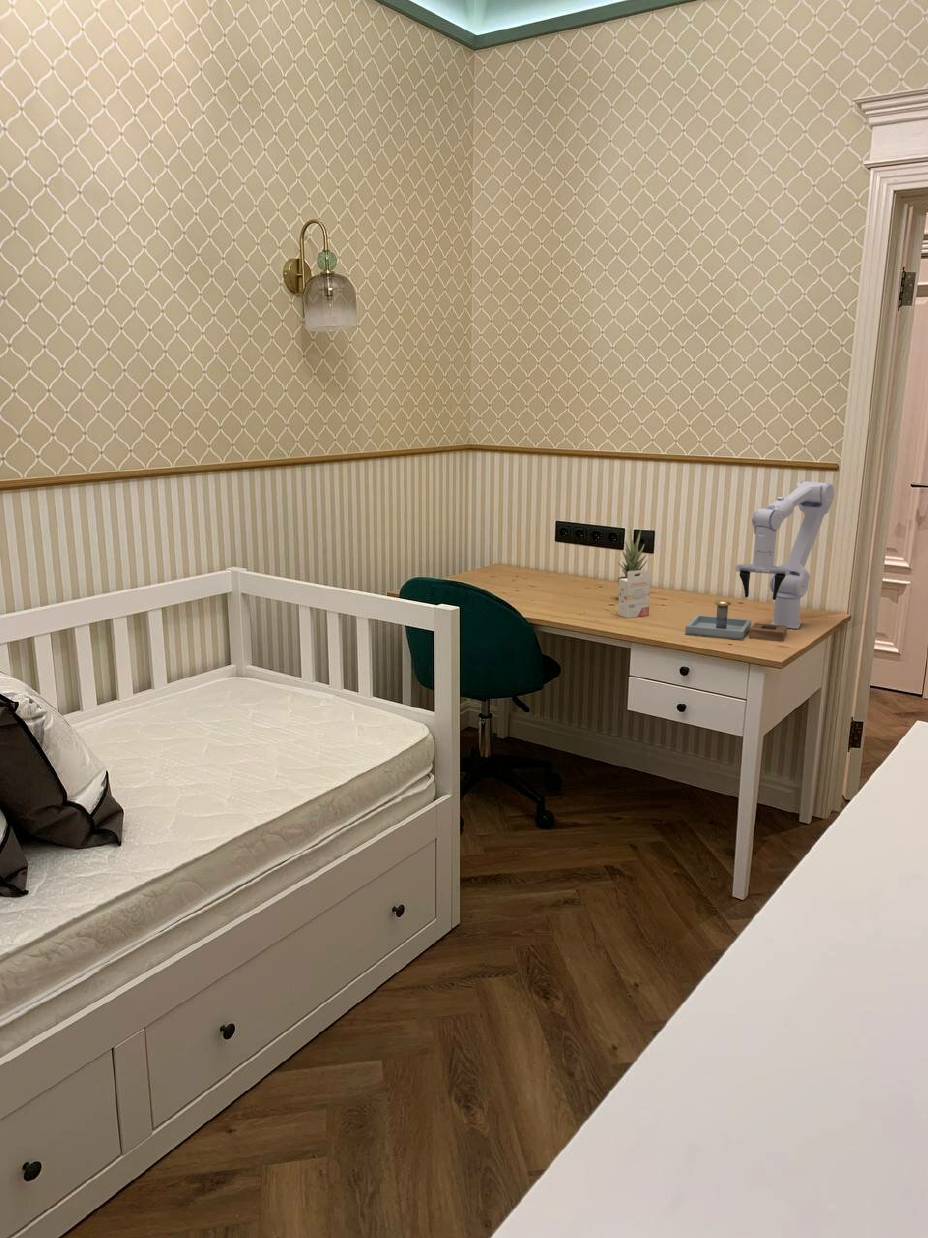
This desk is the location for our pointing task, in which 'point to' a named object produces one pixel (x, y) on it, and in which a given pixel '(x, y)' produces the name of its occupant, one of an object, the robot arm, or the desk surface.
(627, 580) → the ink cartridge box
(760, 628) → the brown square socket base
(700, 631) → the tray
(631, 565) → the potted plant
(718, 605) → the lock pin
